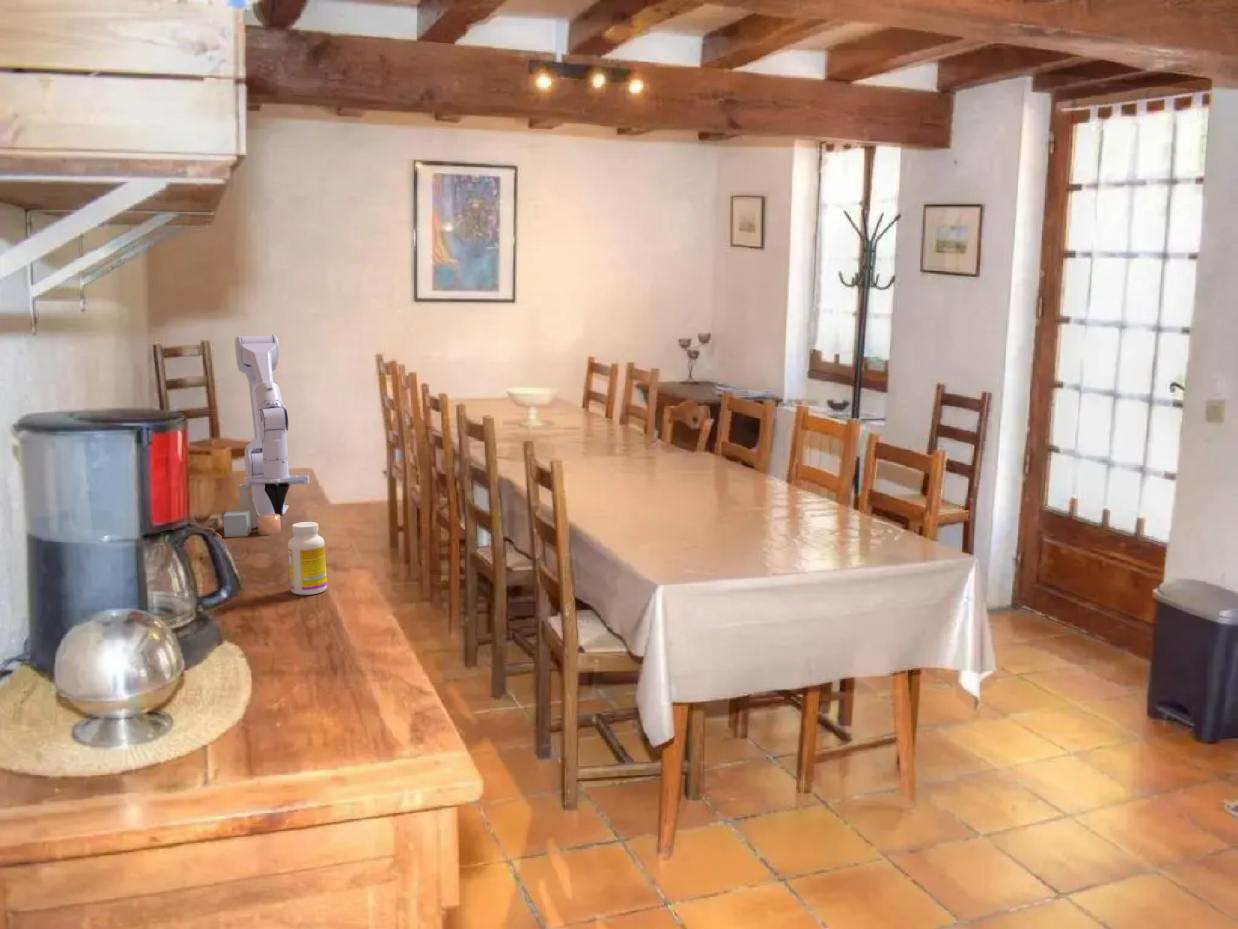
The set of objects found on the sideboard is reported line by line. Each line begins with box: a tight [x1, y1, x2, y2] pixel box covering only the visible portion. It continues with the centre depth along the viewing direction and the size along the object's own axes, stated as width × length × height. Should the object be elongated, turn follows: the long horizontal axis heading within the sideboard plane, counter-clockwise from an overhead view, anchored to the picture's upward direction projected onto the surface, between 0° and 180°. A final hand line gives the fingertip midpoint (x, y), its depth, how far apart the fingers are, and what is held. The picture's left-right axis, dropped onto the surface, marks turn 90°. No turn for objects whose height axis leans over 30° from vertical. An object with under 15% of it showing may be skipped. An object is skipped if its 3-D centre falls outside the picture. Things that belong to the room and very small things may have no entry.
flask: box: [235, 483, 259, 530], centre depth 265 cm, size 7×7×10 cm
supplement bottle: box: [287, 521, 328, 596], centre depth 211 cm, size 7×7×13 cm
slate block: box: [222, 510, 252, 538], centre depth 258 cm, size 5×5×5 cm
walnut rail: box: [202, 512, 224, 532], centre depth 262 cm, size 14×2×2 cm, turn 9°
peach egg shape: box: [257, 514, 282, 536], centre depth 259 cm, size 5×5×4 cm
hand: (278, 515), depth 267 cm, fingers closed
